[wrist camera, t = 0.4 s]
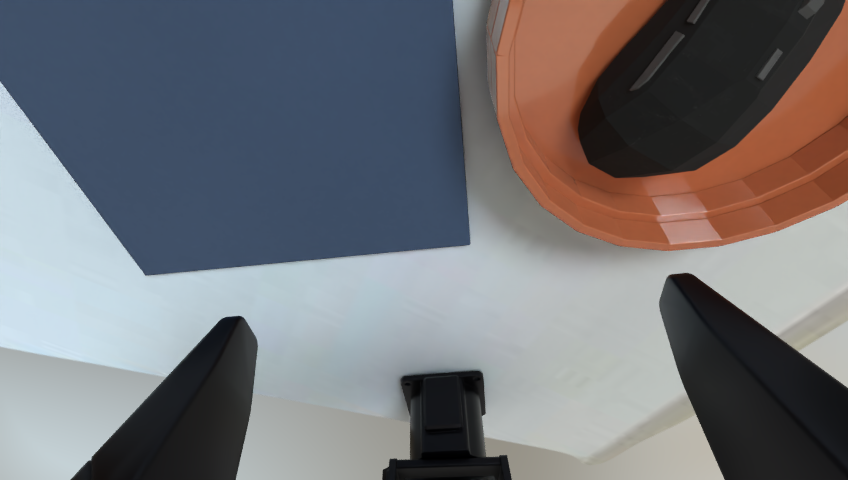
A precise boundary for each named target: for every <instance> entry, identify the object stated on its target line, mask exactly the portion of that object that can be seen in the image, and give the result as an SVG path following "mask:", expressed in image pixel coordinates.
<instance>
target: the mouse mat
mask: <svg viewBox="0 0 848 480" xmlns="http://www.w3.org/2000/svg"><path fill="white" fill-rule="evenodd" d="M0 81H1V83H2V84H3V85H4V87H5V88H6V89H7V91H8V92H9V93H10V95H11V96H12V97H13V99H14V100H15V101H16V103H17V104H18V105H19V107H20V108H21V109H22V111H23V112H24V113H25V115H26V116H27V117H28V119H29V120H30V121H31V123H32V124H33V125H34V127H35V128H36V129H37V131H38V132H39V133H40V135H41V136H42V137H43V139H44V140H45V141H46V143H47V144H48V146H49V147H50V148H51V150H52V151H53V152H54V154H55V155H56V156H57V158H58V159H59V160H60V162H61V163H62V164H63V166H64V167H65V168H66V170H67V171H68V172H69V174H70V175H71V176H72V178H73V179H74V180H75V182H76V183H77V184H78V186H79V187H80V188H81V190H82V191H83V192H84V194H85V195H86V196H87V198H88V199H89V200H90V202H91V203H92V204H93V206H94V207H95V208H96V210H97V211H98V212H99V214H100V215H101V216H102V218H103V219H104V220H105V222H106V223H107V224H108V226H109V227H110V228H111V230H112V231H113V232H114V234H115V235H116V236H117V238H118V239H119V240H120V242H121V243H122V244H123V246H124V247H125V248H126V250H127V251H128V252H129V254H130V255H131V256H132V258H133V259H134V260H135V262H136V263H137V265H138V266H139V267H140V269H141V270H142V271H143V273H144V274H145V275H155V274H166V273H176V272H187V271H198V270H208V269H219V268H229V267H240V266H251V265H261V264H272V263H282V262H293V261H304V260H314V259H325V258H335V257H346V256H357V255H367V254H378V253H388V252H399V251H409V250H420V249H431V248H441V247H452V246H462V245H470V234H469V220H468V206H467V193H466V179H465V165H464V152H463V138H462V124H461V111H460V97H459V83H458V69H457V56H456V42H455V28H454V15H453V1H452V0H0Z"/></svg>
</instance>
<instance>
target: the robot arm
mask: <svg viewBox="0 0 848 480" xmlns="http://www.w3.org/2000/svg"><path fill="white" fill-rule="evenodd" d="M659 307H660V312H661V316H662V319H663V322H664V326H665V329H666V332H667V336H668V339H669V342H670V345H671V349H672V352H673V355H674V359H675V362H676V365H677V368H678V371H679V374H680V378H681V380H682V383H683V385H684V388H685V390H686V392H687V395H688V397H689V399H690V401H691V404H692V406H693V408H694V411H695V413H696V415H697V417H698V419H699V422H700V424H701V427H702V429H703V431H704V433H705V436H706V438H707V440H708V442H709V445H710V447H711V450H712V452H713V454H714V456H715V459H716V461H717V463H718V466H719V468H720V470H721V472H722V474H723V477H724V479H725V480H848V388H847V387H846V386H844V385H843V384H842V383H840V382H839V381H838V380H836V379H835V378H833V377H832V376H831V375H829V374H828V373H827V372H825V371H824V370H822V369H821V368H820V367H818V366H817V365H816V364H814V363H813V362H812V361H810V360H808V359H807V358H806V357H804V356H803V355H802V354H801V353H799V352H798V351H796V350H795V349H794V348H792V347H791V346H790V345H788V344H787V343H786V342H784V341H783V340H781V339H780V338H779V337H777V336H776V335H775V334H773V333H772V332H770V331H769V330H768V329H766V328H765V327H764V326H762V325H761V324H760V323H758V322H757V321H755V320H754V319H753V318H751V317H750V316H749V315H747V314H746V313H745V312H743V311H742V310H740V309H739V308H738V307H736V306H735V305H734V304H732V303H731V302H729V301H728V300H727V299H725V298H724V297H723V296H721V295H720V294H719V293H717V292H716V291H714V290H713V289H712V288H710V287H709V286H708V285H706V284H705V283H703V282H702V281H701V280H699V279H698V278H697V277H695V276H694V275H692V274H689V273H682V274H672V275H669V276H668V277H667V279H666V281H665V284H664V288H663V291H662V294H661V297H660V301H659ZM257 349H258V344H257V339H256V337H255V335H254V333H253V332H252V330H251V328H250V327H249V325H248V324H247V322H246V320H245V319H244V318H243V317H241V316H233V317H225V318H223V319H221V320H220V321H219V322H218V323H217V324H216V325H215V326H214V327H213V328H212V329H211V330H210V332H209V333H208V334H207V335H206V336H205V337H204V338H203V339H202V340H201V341H200V342H199V343H198V344H197V345H196V346H195V348H194V349H193V350H192V351H191V352H190V353H189V354H188V355H187V356H186V357H185V358H184V359H183V360H182V361H181V362H180V364H179V365H178V366H177V367H176V368H175V369H174V370H173V371H172V372H171V373H170V374H169V375H168V376H167V377H166V379H165V380H164V381H163V382H162V383H161V384H160V385H159V386H158V387H157V388H156V389H155V390H154V391H153V392H152V393H151V395H150V396H149V397H148V398H147V399H146V400H145V401H144V402H143V403H142V404H141V405H140V406H139V407H138V408H137V409H136V411H135V412H134V413H133V414H132V415H131V416H130V417H129V418H128V419H127V420H126V421H125V423H123V424H122V426H121V427H120V428H119V429H118V430H117V431H116V432H115V433H114V434H113V435H112V436H111V437H110V438H109V439H108V440H107V442H106V443H105V444H104V445H103V446H102V447H101V448H100V449H99V450H98V451H97V452H96V453H95V454H94V456H92V459H91V461H88V462H87V463H86V464H85V465H84V466H83V467H82V468H81V469H80V470H79V471H78V472H77V473H76V474H75V476H74V477H73V478H72V479H71V480H236V475H237V471H238V466H239V462H240V457H241V453H242V449H243V444H244V440H245V435H246V431H247V426H248V422H249V416H250V411H251V404H252V395H253V386H254V377H255V367H256V358H257ZM401 386H402V389H403V393H404V396H405V400H406V403H407V407H408V410H409V414H410V460H397V459H390V462H389V467H388V468H386V469H384V470H383V478H382V479H383V480H512V479H511V474H510V469H509V464H508V458H507V455H500V456H499V457H486V452H485V442H484V433H483V423H482V416H483V415H485V413H486V412H485V396H484V381H483V373H482V372H480V371H470V372H456V373H443V374H430V375H417V376H405V377H403V378H402V379H401Z"/></svg>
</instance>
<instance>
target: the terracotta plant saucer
mask: <svg viewBox="0 0 848 480" xmlns="http://www.w3.org/2000/svg"><path fill="white" fill-rule="evenodd" d="M666 1H667V0H492V1H491V6H490V10H489V15H488V19H487V26H486V39H487V73H488V86H489V90H490V94H491V98H492V102H493V106H494V110H495V114H496V118H497V121H498V124H499V127H500V130H501V134H502V137H503V140H504V143H505V146H506V149H507V152H508V155H509V158H510V161H511V164H512V167H513V169H514V171H515V172H516V173H517V175H518V176H519V177H520V179H521V180H522V182H523V183H524V184H525V186H526V187H527V188H528V190H529V191H530V192H531V194H532V195H533V196H534V198H535V199H536V200H537V202H538V203H539V204H540V205H541V206H542V207H543V208H545V209H546V210H547V211H549V212H550V213H552V214H553V215H554V216H556V217H557V218H559V219H560V220H562V221H563V222H564V223H566V224H567V225H569V226H570V227H571V228H573V229H574V230H576V231H578V232H580V233H583V234H586V235H589V236H592V237H595V238H597V239H600V240H603V241H606V242H609V243H612V244H615V245H618V246H622V247H632V248H642V249H652V250H661V251H673V250H684V249H696V248H707V247H718V246H723V245H727V244H731V243H735V242H739V241H742V240H746V239H750V238H754V237H758V236H762V235H766V234H770V233H773V232H776V231H779V230H782V229H784V228H787V227H789V226H791V225H794V224H796V223H799V222H801V221H804V220H806V219H808V218H811V217H813V216H816V215H818V214H820V213H823V212H825V211H828V210H830V209H832V208H835V207H836V206H839V205H840V204H842V203H844V202H846V201H847V200H848V0H846V1H845V3H844V6H843V9H842V11H841V13H840V15H839V16H838V18H837V20H836V21H835V23H834V24H833V26H832V27H831V29H830V31H829V32H828V34H827V35H826V37H825V38H824V40H823V42H822V43H821V45H820V46H819V48H818V49H817V51H816V52H815V54H814V56H813V57H812V59H811V60H810V62H809V63H808V64H807V66H806V67H805V68H804V69H803V71H802V72H801V73H800V75H799V76H798V77H797V79H796V80H795V81H794V82H793V84H792V85H791V86H790V88H789V89H788V90H787V91H786V93H785V94H784V95H783V97H782V98H781V99H780V101H779V102H778V103H777V104H776V106H775V107H774V108H773V110H772V111H771V112H770V113H769V114H768V115H767V116H766V117H765V118H764V119H763V120H762V121H761V122H760V123H759V124H758V125H757V126H756V127H755V128H754V129H753V130H752V131H751V132H750V133H749V134H748V135H747V136H746V137H745V138H744V139H743V140H742V141H740V142H739V143H738V144H737V145H736V146H735V147H734V148H732V149H730V150H729V151H727V152H725V153H724V154H722V155H720V156H719V157H717V158H715V159H714V160H712V161H710V162H709V163H707V164H705V165H704V166H702V167H700V168H699V169H697V170H696V171H688V172H680V173H673V174H665V175H657V176H649V177H635V178H614V177H612V176H610V175H608V174H607V173H605V172H603V171H601V170H599V169H597V168H596V167H594V166H592V165H590V164H589V163H588V161H587V159H586V156H585V154H584V151H583V149H582V146H581V144H580V140H579V134H578V124H579V118H580V113H581V111H582V109H583V107H584V105H585V103H586V101H587V99H588V97H589V95H590V93H591V91H592V89H593V87H594V85H595V83H596V81H597V79H598V78H599V77H600V76H601V74H602V73H603V72H604V71H605V70H606V68H607V67H608V66H609V65H610V64H611V62H612V61H613V60H614V59H615V58H616V56H617V55H618V54H619V53H620V52H621V51H622V49H623V48H624V47H625V46H626V45H627V44H628V43H629V42H630V41H631V40H632V39H633V38H634V37H635V36H636V34H637V33H638V32H639V31H640V30H641V29H642V28H643V27H644V26H645V25H646V24H647V23H648V22H649V21H650V19H651V18H652V17H653V16H654V15H655V14H656V13H657V11H658V10H659V9H660V8H661V7H662V6H663V5H664V3H665V2H666Z"/></svg>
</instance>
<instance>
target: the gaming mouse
mask: <svg viewBox="0 0 848 480" xmlns="http://www.w3.org/2000/svg"><path fill="white" fill-rule="evenodd" d="M845 1H846V0H667V1H666V2H665V3H664V5H663V6H662V7H661V8H660V9H659V10H658V11H657V13H656V14H655V15H654V16H653V17H652V18H651V19H650V21H649V22H648V23H647V24H646V25H645V26H644V27H643V28H642V29H641V30H640V31H639V32H638V33H637V34H636V36H635V37H634V38H633V39H632V40H631V41H630V42H629V43H628V44H627V45H626V46H625V47H624V48H623V49H622V51H621V52H620V53H619V54H618V55H617V56H616V58H615V59H614V60H613V61H612V62H611V64H610V65H609V66H608V67H607V68H606V70H605V71H604V72H603V73H602V74H601V76H600V77H599V78H598V79H597V81H596V83H595V85H594V87H593V89H592V91H591V93H590V95H589V97H588V99H587V101H586V103H585V105H584V107H583V109H582V111H581V113H580V118H579V124H578V134H579V140H580V144H581V146H582V149H583V151H584V154H585V156H586V159H587V161H588V163H589V164H590V165H592V166H594V167H596V168H597V169H599V170H601V171H603V172H605V173H607V174H608V175H610V176H612V177H614V178H635V177H649V176H657V175H665V174H673V173H680V172H688V171H696V170H697V169H699V168H700V167H702V166H704V165H705V164H707V163H709V162H710V161H712V160H714V159H715V158H717V157H719V156H720V155H722V154H724V153H725V152H727V151H729V150H730V149H732V148H734V147H735V146H736V145H737V144H738V143H739V142H740V141H742V140H743V139H744V138H745V137H746V136H747V135H748V134H749V133H750V132H751V131H752V130H753V129H754V128H755V127H756V126H757V125H758V124H759V123H760V122H761V121H762V120H763V119H764V118H765V117H766V116H767V115H768V114H769V113H770V112H771V111H772V110H773V108H774V107H775V106H776V104H777V103H778V102H779V101H780V99H781V98H782V97H783V95H784V94H785V93H786V91H787V90H788V89H789V88H790V86H791V85H792V84H793V82H794V81H795V80H796V79H797V77H798V76H799V75H800V73H801V72H802V71H803V69H804V68H805V67H806V66H807V64H808V63H809V62H810V60H811V59H812V57H813V56H814V54H815V52H816V51H817V49H818V48H819V46H820V45H821V43H822V42H823V40H824V38H825V37H826V35H827V34H828V32H829V31H830V29H831V27H832V26H833V24H834V23H835V21H836V20H837V18H838V16H839V15H840V13H841V11H842V9H843V6H844V3H845Z"/></svg>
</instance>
